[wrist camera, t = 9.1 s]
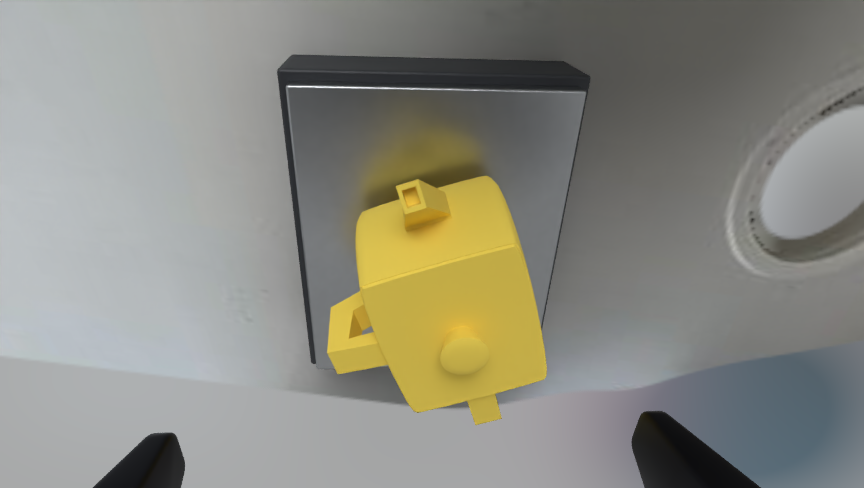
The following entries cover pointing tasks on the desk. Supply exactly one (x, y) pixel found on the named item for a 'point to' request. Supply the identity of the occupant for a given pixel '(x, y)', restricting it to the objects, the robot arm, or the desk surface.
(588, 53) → the desk surface
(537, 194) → the scale
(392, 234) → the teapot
